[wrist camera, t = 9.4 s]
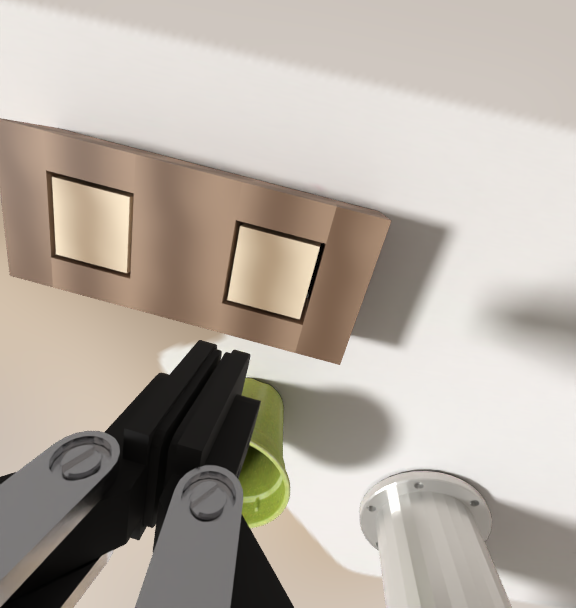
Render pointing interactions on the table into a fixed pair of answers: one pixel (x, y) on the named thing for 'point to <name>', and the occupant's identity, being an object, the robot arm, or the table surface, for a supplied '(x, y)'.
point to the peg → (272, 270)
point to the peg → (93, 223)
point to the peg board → (186, 238)
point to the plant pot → (264, 459)
